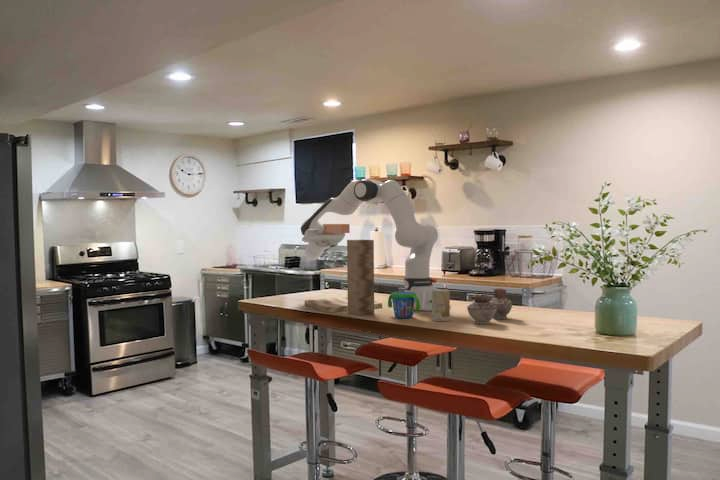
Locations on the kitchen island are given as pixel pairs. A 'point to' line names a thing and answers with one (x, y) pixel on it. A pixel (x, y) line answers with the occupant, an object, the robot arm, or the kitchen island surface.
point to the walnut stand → (360, 276)
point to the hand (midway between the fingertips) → (329, 227)
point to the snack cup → (403, 303)
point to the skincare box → (440, 305)
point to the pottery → (490, 307)
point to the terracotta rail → (337, 228)
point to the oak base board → (333, 304)
